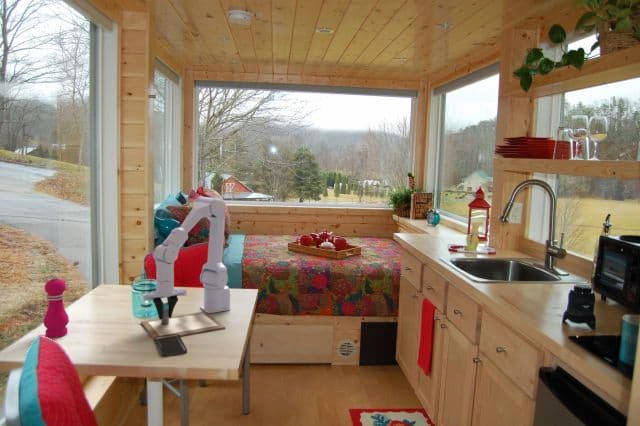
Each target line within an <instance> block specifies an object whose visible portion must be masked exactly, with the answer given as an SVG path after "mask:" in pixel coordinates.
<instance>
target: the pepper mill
mask: <svg viewBox="0 0 640 426" xmlns="http://www.w3.org/2000/svg"><path fill="white" fill-rule="evenodd" d="M66 289H67V284H66V282H65V281H64V280H63V279H61V278H59V275H58V274H53V275H52V276H51V279H50V280H48V281H47V282H46V283H45V284H44V291H45V293H46V300H48V307H47V311H46V314H45V316H44V318H43V326H44V327H45V328H46V329H45V337H46V338H50V339H53V338H54V339H55V338H56V339H57V338H62V337H64V336H66V335H67V334H68V327H67V325H69V322H70V319H69V315H68V313H67V311H66V309H65V307H64V299H65V293H64V292H65V291H66Z"/></svg>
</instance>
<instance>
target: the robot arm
mask: <svg viewBox="0 0 640 426" xmlns="http://www.w3.org/2000/svg"><path fill="white" fill-rule="evenodd" d="M225 210H226V203H225V202H224V201H223V200H222V199H221V198H219V197H218V198H217V197H216V198H215V197H207V196H202V195H201V196H200V195H199V196H198V197H197V198H196V199H195V201H194V202H193V203H192V209H191V210H190V212H189V213H188V215H187V216H186V217H185V219H184V221H182V224H180V227H175V228H174V229H171V231H170V234H169V235H168V236H167V237H166V239H165V240H164V241H163V242H162V243H161V244H160V245H157V246H156V247H155V249H154V250H153V252H152V257H153V259H154V261H155V266H156V269H155V270H156V276H155V277H156V279H155V280H156V284H155V285H156V288H155V290H156V291H150V292H148V293H143V294H142V300H143V301H144V302H145V301H150V300H152V302H153V303H154V306H155V308H156V309H155V310H156V312H157V315H158V316H157V319H162V306H163V303H164V302H163V299H166V300H167V303H169V318H171V317H173V312H174V309H175V306H176V305H177V303H178V301H179V298H178V297H181V296H184V297H186V296H187V294H188V293H187V289H185V288H180V289H179V288H178V289H176V288H175V286H174V285H175V284H174V283H175V282H174V281H175V277H174V276H175V274H174V272H175V271H174V270H175V269H174V267H175V261H176V260H178V257H179V253H180V249H181V248H182V247H183V245H184V244H185V243H186V241H187V240H188V239H189V232H190V231H191V230H192V229H193V228H194V227H195V226H196V225H197V224H198V222H199V221H200V220H201V219H202V218H206V219H207V220H208V221H209V222H210V223H209V235H208V247H207V262H206V263H204V264H203V265H202V268H201V269H202V270H201V271H200V272H201V273H200V275H199V281H200V283H201V284H202V287H203V294H204V295H203V305H200V307H199V308H200V309H201V310H202V311H203V312H207V313H209V314H212V313H218V312H219V313H221V312H225V311H230V310H231V291H230V288H229V286H228V282H229V276H228V268H227V267H226V266H225V264H224V263H223V253H224V238H225V228H226V227H225V224H226V215H225V214H226V213H225V212H226V211H225Z"/></svg>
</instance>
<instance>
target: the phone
mask: <svg viewBox="0 0 640 426" xmlns="http://www.w3.org/2000/svg"><path fill="white" fill-rule="evenodd" d="M173 335H177V336H172V337H166V338H160V339H155V340H154V343H155V345H156V348H157V350H158V352H159V355H160V357H163V358H164V357H172V356H178V355H186V354H187V353H188V349H187V347H186V345H185V343H184V342H183V339H182V336H181V337H180V335H178V334H173ZM165 336H170V335H165ZM157 337H162V336H157ZM155 338H156V337H155Z"/></svg>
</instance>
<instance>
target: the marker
mask: <svg viewBox="0 0 640 426" xmlns="http://www.w3.org/2000/svg"><path fill="white" fill-rule="evenodd" d="M168 323H169V303H168V301H167V302H163V306H162V319H161V324H168Z"/></svg>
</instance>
